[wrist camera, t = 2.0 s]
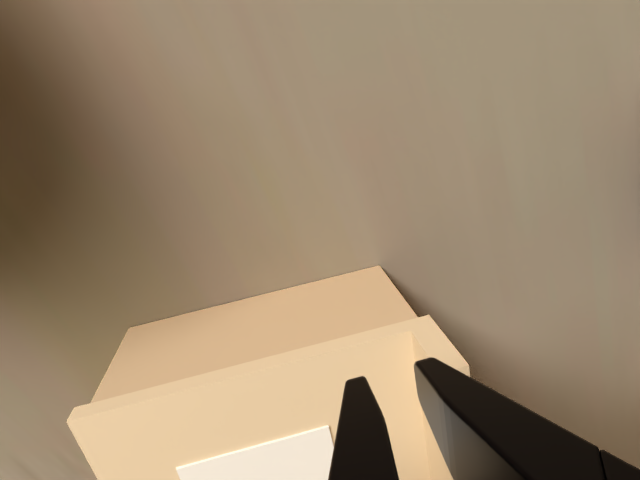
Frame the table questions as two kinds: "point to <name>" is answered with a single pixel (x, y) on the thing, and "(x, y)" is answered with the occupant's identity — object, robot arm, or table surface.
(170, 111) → the table surface
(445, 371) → the robot arm
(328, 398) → the cream angled plate
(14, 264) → the table surface
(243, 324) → the base
